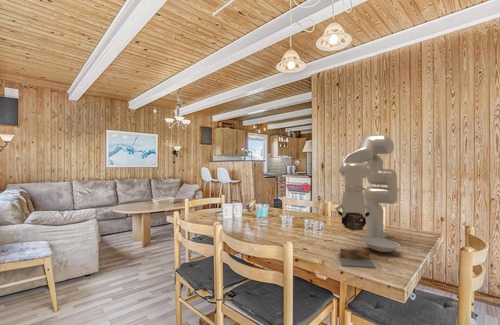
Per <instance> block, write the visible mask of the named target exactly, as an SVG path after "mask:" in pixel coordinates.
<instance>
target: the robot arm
mask: <svg viewBox="0 0 500 325" xmlns="http://www.w3.org/2000/svg"><path fill="white" fill-rule="evenodd" d="M394 144H395V143H394V141H393V139H392V138H390V137H389V136H388V135H385V134H380V135H379V134H375V135H374V134H373V135H367V136H364V137H362V138H361V140H360V143H359V145H358V148H357V149H356V150H354V151H352V152H351V153H349V154H347V155H346V156H345V157H344V158H343V159H342V162H341V163H340V164H341V165H340V167H339V173H340V175H341V176H342V177H344V191H343V192H342V196H341V197H342V198H341V204H340V205H338V206H336V207H335V208H334V209H335V211H336V213H337V214H338V215H339V216H340V217H341V224H342V225H343V227H345V215H346V214H347V213H359V214H362V215H363V228H364V227H365V233H364V234H363V235H362V237H363V239H365V238H380V239H387V237H391V238H392V237H393V234H392V233H389V232H386V231H384V209H383V208H382V206H381V204H390V205H393V204H395V203H396V202H397V198H398V175H397V172H396V170H394V169H391V168H384V160H383V158H382V157H381V156H380V155H384V154H385V155H386V154H387V155H388V154H392V153H393V152H394V149H395V145H394ZM366 162H367V163H366ZM365 178H367V182H368V184H371V185H375V186H368V187H365V186H363V179H365ZM376 185H378V186H376ZM380 185H381V186H380ZM383 186H386V187H383ZM340 209H341V211H342V212H341V211H340Z"/></svg>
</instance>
